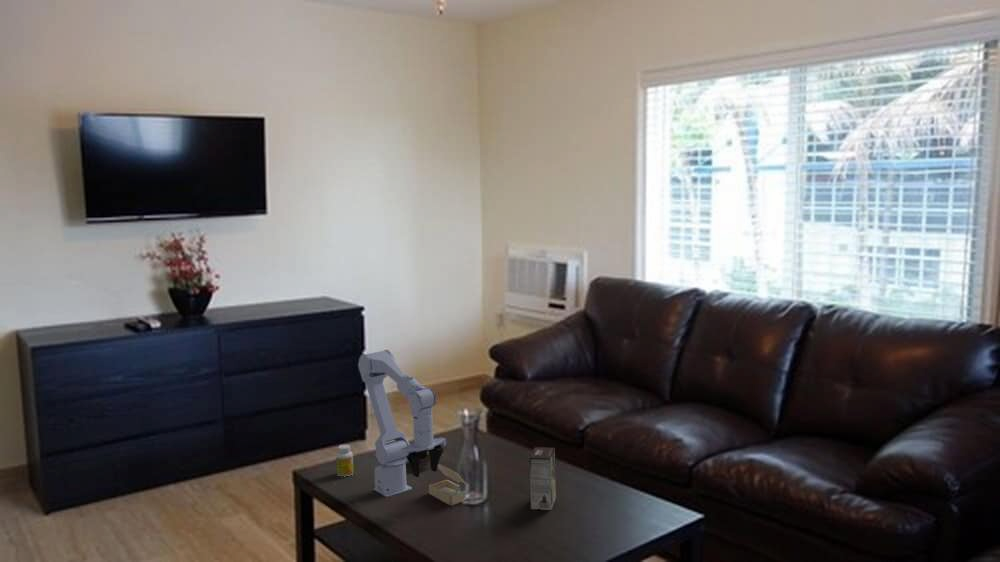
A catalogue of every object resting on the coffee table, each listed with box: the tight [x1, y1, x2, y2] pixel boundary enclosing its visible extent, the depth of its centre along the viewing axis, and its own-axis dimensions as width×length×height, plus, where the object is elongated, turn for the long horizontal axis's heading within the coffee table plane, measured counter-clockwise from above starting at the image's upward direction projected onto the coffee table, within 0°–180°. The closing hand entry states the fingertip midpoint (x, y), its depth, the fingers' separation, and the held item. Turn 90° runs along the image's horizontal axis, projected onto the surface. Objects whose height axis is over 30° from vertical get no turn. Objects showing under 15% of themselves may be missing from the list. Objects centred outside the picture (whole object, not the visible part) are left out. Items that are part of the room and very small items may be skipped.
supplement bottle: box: [336, 444, 355, 478], centre depth 262 cm, size 5×5×10 cm
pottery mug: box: [410, 450, 430, 470], centre depth 269 cm, size 12×10×8 cm
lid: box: [437, 463, 469, 487], centre depth 242 cm, size 7×12×1 cm
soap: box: [439, 487, 457, 496], centre depth 241 cm, size 3×5×2 cm, turn 48°
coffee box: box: [529, 446, 557, 511], centre depth 235 cm, size 9×6×16 cm
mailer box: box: [428, 479, 467, 506], centre depth 242 cm, size 7×12×3 cm, turn 38°
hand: (425, 473), depth 236 cm, fingers open, 6 cm apart
